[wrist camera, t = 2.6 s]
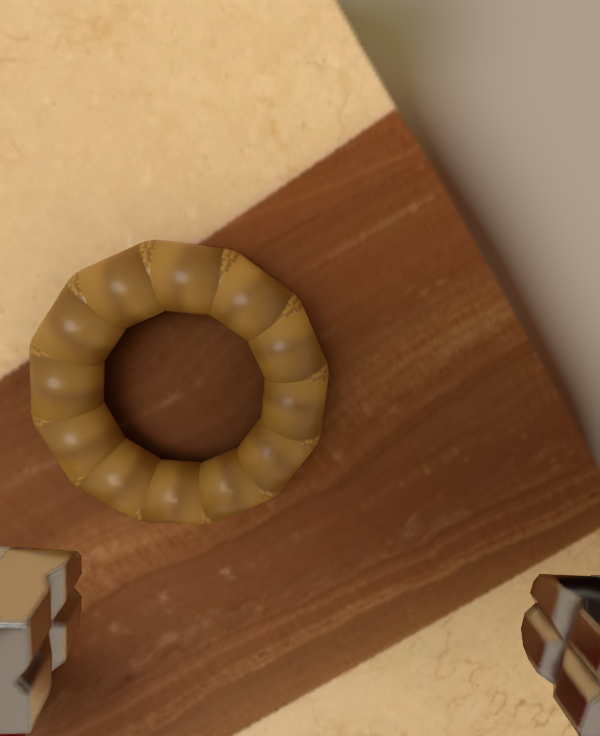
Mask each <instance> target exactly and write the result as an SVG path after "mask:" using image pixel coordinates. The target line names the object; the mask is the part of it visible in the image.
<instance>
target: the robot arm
mask: <svg viewBox="0 0 600 736" xmlns="http://www.w3.org/2000/svg"><path fill="white" fill-rule="evenodd" d="M81 573H82V572H81V555H80V554H79V553H78V552H77V551H65V550H51V549H36V548H22V547H15V548H13V547H4V546H0V734H22V733H30V732H31V730H32V728H33V726H34V724H35V722H36V720H37V718H38V716H39V714H40V712H41V709H42V707H43V705H44V703H45V701H46V699H47V697H48V695H49V693H50V691H51V689H52V671H53V670H54V669H56V668H57V667H58V666H60V665H61V664H62V663H64V662H65V661H66V659H67V656H68V654H69V652H70V650H71V648H72V646H73V643H74V640H75V636H76V633H77V630H78V626H79V621H80V614H81V595H80V594H79V593H78V592H77V590H76V589H75V588H74V586H75V584H76V582H77V581H78V579H79V577H80V575H81ZM530 593H531V595H532V597H533V600H534V602H535V604H534V605H533V606H532V607H531V608H530V609H528V610H527V611H526V612H525V614H524V618H523V623H522V627H521V632H522V640H523V646H524V649H525V651H526V654H527V657H528V659H529V661H530V662H531V664H532V665H533V667H534V668H535V670H536V672H537V673H539V674H540V675H541V676H543V677H544V678H545V679H547V680H548V681H549V682H551V683H552V684H553V697H554V699H555V700H556V702H557V703H558V705H559V706H560V708H561V709H562V711H563V712H564V714H565V715H566V717H567V718H568V720H569V721H570V723H571V724H572V726H573V727H574V729H575V730H576V732H577V733H578V735H579V736H600V575H591V576H574V575H551V574H539V575H538V577H537V578H536V579H535V580H534V582H533V585H532V588H531V592H530Z"/></svg>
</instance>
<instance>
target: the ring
mask: <svg viewBox="0 0 600 736" xmlns="http://www.w3.org/2000/svg"><path fill="white" fill-rule="evenodd" d="M164 311H171V312H181V313H191V314H200V315H210V316H212V317H213V318H215V319H216V320H217V321H219V322H220V323H222V324H223V325H225V326H226V327H227V328H229V329H230V330H232V331H233V332H235V333H236V334H237V335H239V336H240V337H242V338H243V339H245V340H246V341H247V342H248V344H249V346H250V349H251V351H252V353H253V355H254V357H255V359H256V361H257V363H258V366H259V368H260V370H261V372H262V374H263V376H264V378H265V381H264V391H263V401H262V411H261V417H260V418H259V420H258V421H257V422H256V424H255V425H254V426H253V428H252V429H251V430H250V432H249V433H248V434H247V436H246V437H245V438H244V440H243V441H242V442H241V444H240V445H239V446H238V447H236V448H234V449H231V450H229V451H227V452H224V453H222V454H220V455H218V456H215V457H213V458H211V459H208V460H206V461H204V462H195V461H181V460H167V459H160V458H159V457H157V456H155V455H154V454H152V453H150V452H149V451H147V450H145V449H144V448H142V447H141V446H139V445H137V444H136V443H134V442H132V441H131V440H129V439H127V438H126V437H125V436H124V435H123V433H122V431H121V429H120V428H119V426H118V424H117V423H116V421H115V419H114V417H113V416H112V414H111V412H110V411H109V409H108V407H107V405H106V404H105V402H104V369H105V360H106V359H107V357H108V356H109V354H110V353H111V351H112V350H113V348H114V347H115V345H116V344H117V342H118V341H119V339H120V338H121V336H122V335H123V333H124V332H125V330H126V329H127V328H128V327H131V326H133V325H135V324H137V323H140V322H142V321H144V320H146V319H149V318H151V317H153V316H155V315H158V314H160V313H162V312H164ZM29 352H30V392H31V416H32V421H33V423H34V426H35V427H36V429H37V430H38V432H39V433H40V435H41V437H42V438H43V440H44V441H45V443H46V444H47V446H48V448H49V449H50V451H51V452H52V454H53V455H54V457H55V459H56V460H57V462H58V463H59V465H60V466H61V468H62V469H63V471H64V473H65V474H66V476H67V477H68V479H69V480H70V481H71V482H72V484H73V485H75V486H76V487H78V488H79V489H81V490H83V491H85V492H86V493H88V494H90V495H92V496H93V497H95V498H97V499H99V500H100V501H102V502H104V503H106V504H108V505H109V506H111V507H113V508H115V509H116V510H118V511H120V512H122V513H123V514H125V515H127V516H129V517H130V518H132V519H135V520H138V521H143V522H160V523H177V524H195V525H210V524H214V523H217V522H219V521H222V520H224V519H226V518H228V517H231V516H233V515H235V514H238V513H240V512H242V511H245V510H247V509H249V508H252V507H254V506H256V505H259V504H261V503H263V502H266V501H268V500H270V499H272V498H273V497H275V496H276V495H277V494H278V493H279V492H280V491H281V490H282V489H283V487H284V486H285V485H286V484H287V482H288V481H289V480H290V478H291V477H292V476H293V475H294V473H295V472H296V471H297V470H298V468H299V467H300V466H301V464H302V463H303V462H304V461H305V459H306V458H307V457H308V456H309V454H310V453H311V452H312V450H313V449H314V448H315V446H316V445H317V443H318V441H319V439H320V436H321V430H322V423H323V416H324V408H325V401H326V393H327V386H328V378H329V369H328V364H327V361H326V358H325V356H324V354H323V351H322V349H321V347H320V344H319V342H318V340H317V337H316V335H315V333H314V330H313V328H312V326H311V323H310V321H309V319H308V317H307V314H306V312H305V310H304V307H303V305H302V303H301V301H300V300H299V299H298V297H297V296H296V295H294V294H293V293H292V292H291V291H289V290H288V289H287V288H285V287H284V286H283V285H281V284H280V283H279V282H277V281H276V280H275V279H273V278H272V277H271V276H269V275H268V274H267V273H265V272H264V271H263V270H261V269H260V268H259V267H257V266H256V265H255V264H253V263H252V262H251V261H249V260H248V259H247V258H245V257H244V256H242V255H241V254H239V253H238V252H236V251H234V250H231V249H226V248H220V247H211V246H203V245H195V244H186V243H178V242H170V241H161V240H151V241H146V242H143V243H140V244H138V245H136V246H133V247H131V248H129V249H127V250H124V251H122V252H120V253H118V254H116V255H113V256H111V257H109V258H107V259H105V260H102V261H100V262H98V263H96V264H94V265H91V266H89V267H87V268H85V269H83V270H81V271H79V272H77V273H76V274H74V275H73V276H72V277H71V278H70V279H69V281H68V282H67V284H66V285H65V287H64V288H63V290H62V292H61V293H60V295H59V296H58V298H57V299H56V301H55V303H54V304H53V306H52V307H51V309H50V311H49V312H48V314H47V315H46V317H45V318H44V320H43V322H42V323H41V325H40V326H39V328H38V330H37V331H36V333H35V334H34V336H33V338H32V340H31V343H30V351H29Z"/></svg>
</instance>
